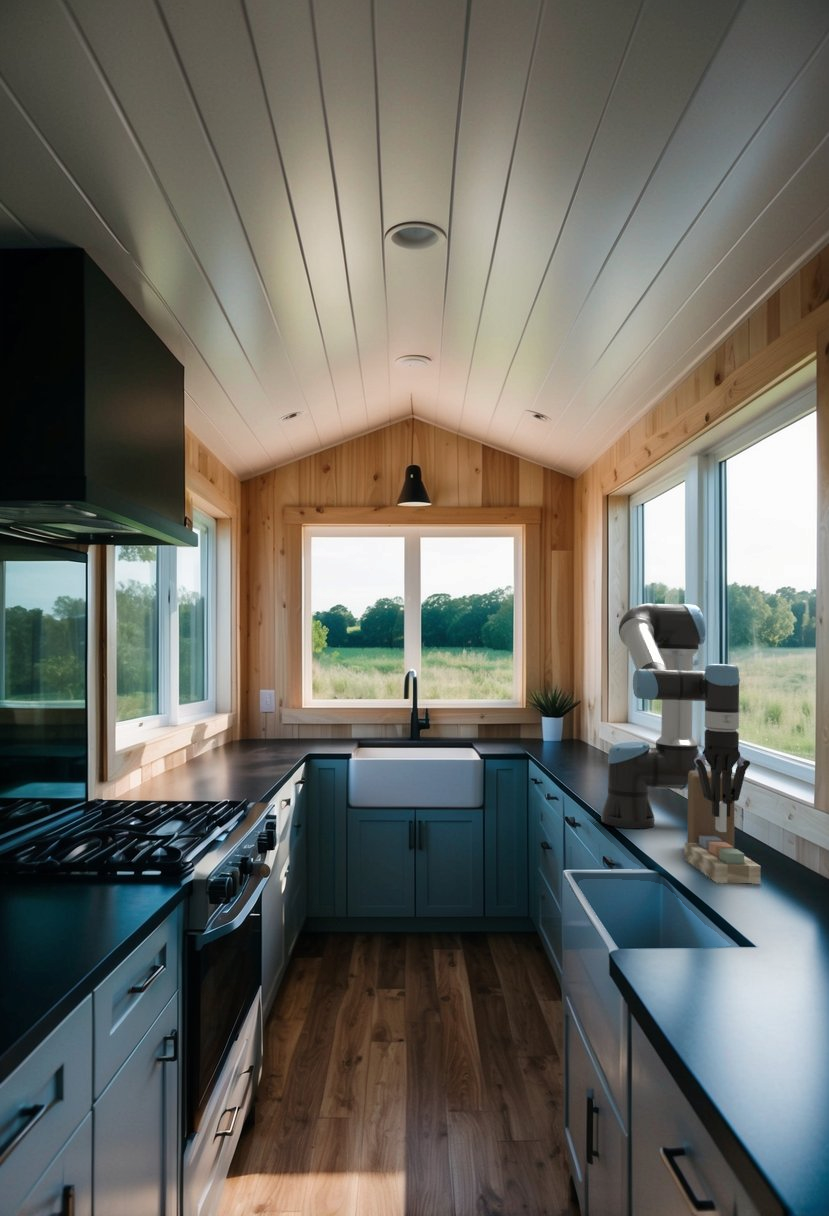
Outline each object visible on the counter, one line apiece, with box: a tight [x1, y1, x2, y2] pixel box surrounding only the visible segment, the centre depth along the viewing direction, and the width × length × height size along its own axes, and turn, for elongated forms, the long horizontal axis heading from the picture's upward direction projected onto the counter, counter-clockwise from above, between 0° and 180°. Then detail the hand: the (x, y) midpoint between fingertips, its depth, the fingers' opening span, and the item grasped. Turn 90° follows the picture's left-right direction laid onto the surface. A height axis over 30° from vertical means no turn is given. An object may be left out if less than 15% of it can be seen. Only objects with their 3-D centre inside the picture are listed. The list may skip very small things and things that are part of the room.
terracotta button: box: [709, 842, 733, 856], centre depth 183 cm, size 4×4×4 cm
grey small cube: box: [699, 836, 722, 849], centre depth 189 cm, size 4×4×4 cm
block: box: [686, 770, 736, 849], centre depth 199 cm, size 10×10×20 cm
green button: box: [719, 848, 745, 864], centre depth 177 cm, size 4×4×4 cm
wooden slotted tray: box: [684, 842, 762, 885], centre depth 183 cm, size 19×10×4 cm, turn 1°
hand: (720, 830), depth 183 cm, fingers closed
